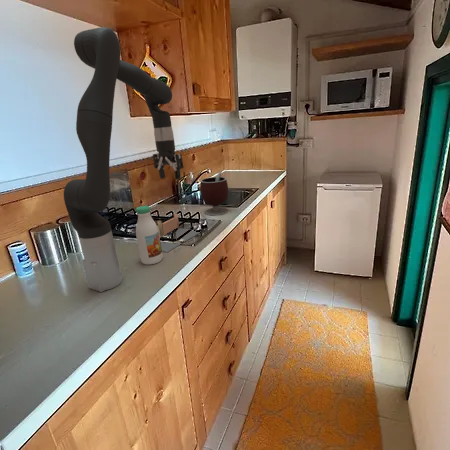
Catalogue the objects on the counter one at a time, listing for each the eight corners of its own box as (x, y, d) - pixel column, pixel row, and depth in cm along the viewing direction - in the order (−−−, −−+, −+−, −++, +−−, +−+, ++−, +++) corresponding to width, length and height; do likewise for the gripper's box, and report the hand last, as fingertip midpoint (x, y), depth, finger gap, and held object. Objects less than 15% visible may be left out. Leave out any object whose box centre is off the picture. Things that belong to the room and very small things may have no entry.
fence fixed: (143, 247, 120) (140, 230, 117) (140, 246, 120) (137, 230, 118) (164, 236, 129) (161, 220, 127) (161, 235, 130) (159, 220, 127)
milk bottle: (141, 266, 104) (130, 212, 97) (141, 257, 111) (131, 205, 104) (163, 262, 106) (154, 208, 99) (162, 253, 113) (153, 202, 106)
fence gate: (164, 235, 129) (162, 221, 127) (161, 234, 130) (159, 220, 128) (180, 227, 137) (178, 213, 135) (177, 226, 138) (175, 213, 136)
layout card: (167, 252, 114) (167, 251, 113) (137, 246, 122) (137, 245, 122) (201, 232, 131) (201, 231, 131) (173, 227, 139) (173, 226, 139)
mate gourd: (221, 217, 147) (217, 177, 140) (197, 215, 154) (193, 176, 147) (235, 208, 160) (233, 170, 153) (213, 206, 166) (210, 170, 159)
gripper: (145, 140, 122) (151, 180, 128) (171, 139, 114) (177, 181, 120) (158, 138, 128) (164, 176, 133) (184, 137, 120) (189, 177, 126)
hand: (170, 178), depth 127 cm, fingers open, 8 cm apart
